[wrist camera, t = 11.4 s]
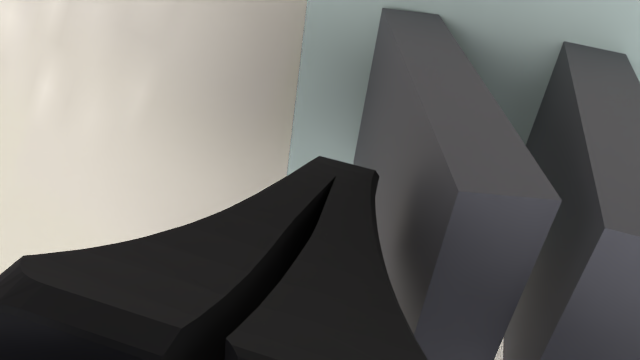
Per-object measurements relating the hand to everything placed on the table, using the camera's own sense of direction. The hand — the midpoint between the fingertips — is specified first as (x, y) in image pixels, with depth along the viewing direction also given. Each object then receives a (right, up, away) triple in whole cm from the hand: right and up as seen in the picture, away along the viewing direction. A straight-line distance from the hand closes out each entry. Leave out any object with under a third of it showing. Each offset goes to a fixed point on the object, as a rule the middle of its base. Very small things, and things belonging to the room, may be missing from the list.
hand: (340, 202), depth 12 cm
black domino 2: (+7, +2, +4) cm, 8 cm away
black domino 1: (+2, +3, +5) cm, 6 cm away
